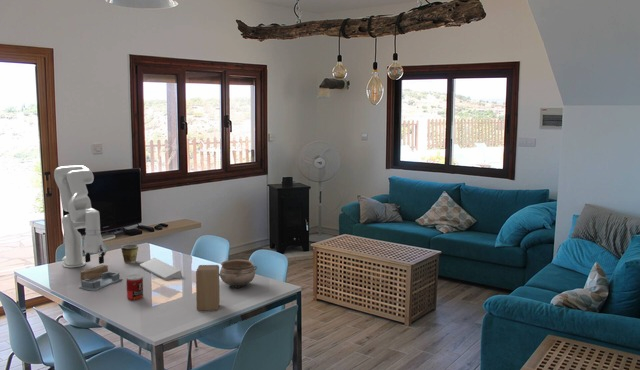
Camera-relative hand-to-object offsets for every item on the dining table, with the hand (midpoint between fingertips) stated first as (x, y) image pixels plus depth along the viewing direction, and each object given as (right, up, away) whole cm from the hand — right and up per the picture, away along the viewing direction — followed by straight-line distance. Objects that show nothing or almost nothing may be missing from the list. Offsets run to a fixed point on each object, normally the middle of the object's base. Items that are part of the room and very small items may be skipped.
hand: (94, 262), depth 315 cm
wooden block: (+73, -16, -45) cm, 87 cm away
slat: (-1, -8, +2) cm, 9 cm away
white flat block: (+33, -8, +12) cm, 36 cm away
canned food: (+34, -13, -33) cm, 49 cm away
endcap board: (+8, -10, -11) cm, 17 cm away
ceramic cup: (+8, -4, +34) cm, 35 cm away
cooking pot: (+82, -11, -11) cm, 83 cm away
